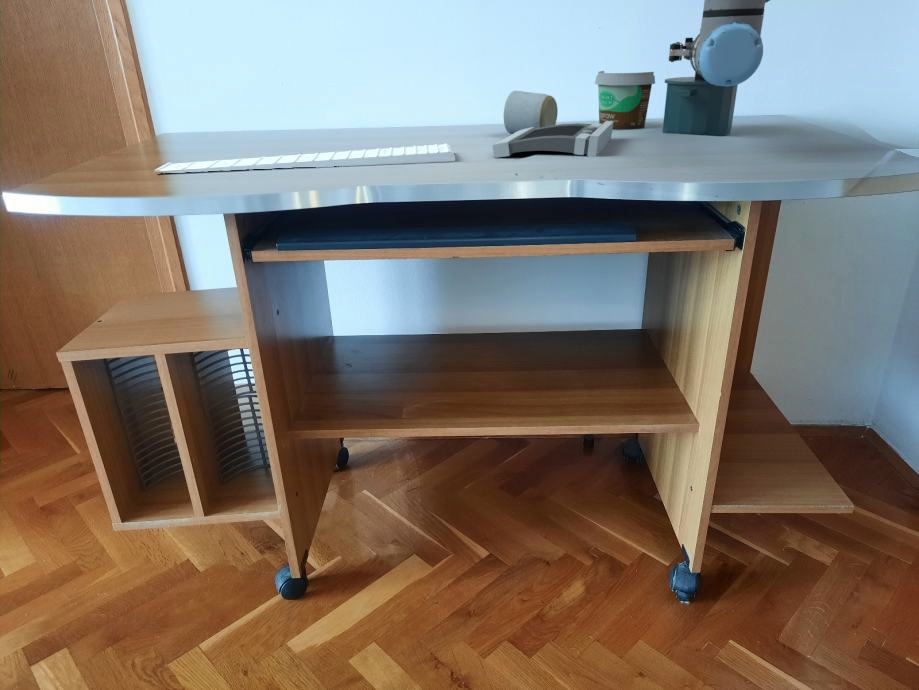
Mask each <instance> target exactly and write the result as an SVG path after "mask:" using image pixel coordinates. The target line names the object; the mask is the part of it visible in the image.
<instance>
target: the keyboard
mask: <svg viewBox="0 0 919 690" xmlns="http://www.w3.org/2000/svg"><path fill="white" fill-rule="evenodd" d="M447 162H448V163H449V162H456V156H455V153H454V151H453V149H452V146H451V145H450V144H448V143H447V142H444V144H437V143H435V144H424V145H415V144H414V145H413V146H404V145H403V146H402V147H392V146H390V147H388V148H386V147H385V148H380V147H377V148H374V149H367V148H364V149H359V150H358V149H357V150H351V149H349V150H347V151H346V150H345V151H344V150H343V151H336V150H334V151H333V152H330V151H329V152H316V153H305V154H302V153H299V154H289V155H284V154H281V155H276V156H264V155H262V156H261V157H260V156H259V157H250V158H249V157H248V158H243V157H240V158H235V159H217V160H208V161H196V160H194V161H192V162H180V163H172V162H171V161H169V162H167V163H165V164H163V165H161V166H159V167H157V168H156V169H154V173H155V172H180V171H198V170H221V169H259V168H292V167H316V168H335V167H334V166H337V167H338V166H339V167H357V166H380V165H381V166H382V165H383V166H384V165H402V164H403V165H404V164H426V163H428V164H429V163H447ZM337 167H336V168H337Z"/></svg>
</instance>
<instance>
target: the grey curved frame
mask: <svg viewBox="0 0 919 690" xmlns="http://www.w3.org/2000/svg"><path fill="white" fill-rule="evenodd" d="M612 128H613V121H606V122H604V123H603V124H599V122H593V123H580V122H576V123H561V124H556V125H552V126H546V127H541V128H536V129H534V127H531V128H526V129H522V130H519V131H517V132H515V133H514V134H510V135H508V136H507V137H505V138H502V139H501V140H499V141H497V142H495V143H493V144H492V145H491V146H492V152H493V158H494V159H496V158H503V157H504V158H505V157H511V156H512V155H513V154H516V153H521V152H522V153H523V152H535V151H536V152H539V151H542V152H543V151H544V152H562V153H571V154H573V155H576V156H577V155H578V156H585V155H586V157H588V158H589V157H591V158H593V157H594V158H596V157H597V156H598V155H599V154H600V153H601V151H602V150H603V149H604V148H605V147H606V145H608V143H609V142H610V141H611V140H612V135H613V129H612Z"/></svg>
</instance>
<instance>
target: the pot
mask: <svg viewBox="0 0 919 690" xmlns="http://www.w3.org/2000/svg"><path fill="white" fill-rule="evenodd" d="M738 85H739V84H738ZM738 85H734V86H728V87H727V86H714V85H712V84H711V85H682V84H668V83H666V94H665V104H664V113H663V122H662V123H663V124H662V134H673V135H690V136H691V135H692V136H704V137H705V136H706V137H707V136H708V137H723V136H728V135H730V134H731V131H732V127H733V120H734V113H735V108H736V107H735V106H736V99H737V91H738V87H739V86H738Z"/></svg>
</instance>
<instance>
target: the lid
mask: <svg viewBox="0 0 919 690" xmlns="http://www.w3.org/2000/svg"><path fill="white" fill-rule="evenodd" d="M700 32H701V28H699V33H700ZM667 83H668V84H682V85H711V84H710V83H709V82H707V81H706V80H705V79H704V78H703V77H702V76H700V75H699V74H697V73H696V72H695V71H694V76H679V77H678V76H677V77H669V78H665V79H664V84H667Z"/></svg>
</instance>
